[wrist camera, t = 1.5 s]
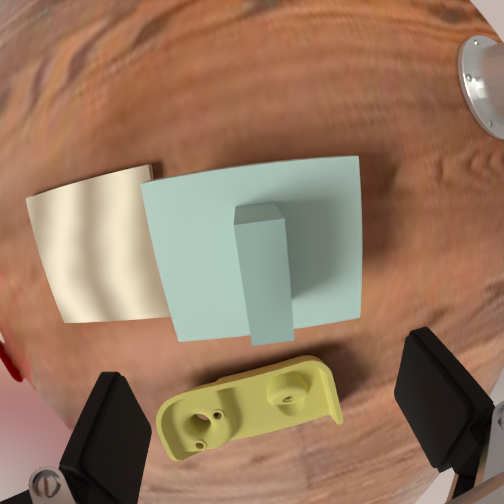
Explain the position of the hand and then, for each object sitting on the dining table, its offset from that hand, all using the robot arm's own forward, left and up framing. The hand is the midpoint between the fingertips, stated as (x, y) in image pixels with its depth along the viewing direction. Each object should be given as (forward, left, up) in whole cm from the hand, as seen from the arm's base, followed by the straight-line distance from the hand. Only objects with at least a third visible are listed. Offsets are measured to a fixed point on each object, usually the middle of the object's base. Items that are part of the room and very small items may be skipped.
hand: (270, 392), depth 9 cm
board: (+15, 0, -18) cm, 23 cm away
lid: (0, 0, -13) cm, 13 cm away
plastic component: (+3, +20, -19) cm, 27 cm away
